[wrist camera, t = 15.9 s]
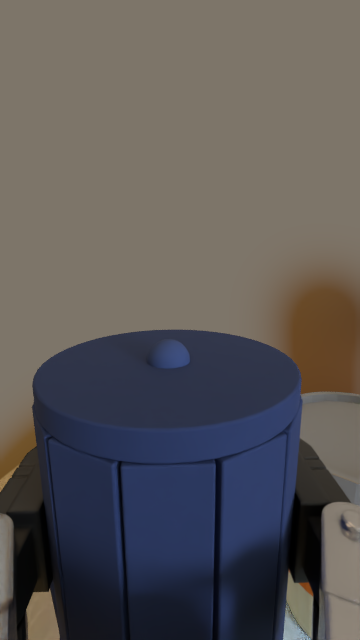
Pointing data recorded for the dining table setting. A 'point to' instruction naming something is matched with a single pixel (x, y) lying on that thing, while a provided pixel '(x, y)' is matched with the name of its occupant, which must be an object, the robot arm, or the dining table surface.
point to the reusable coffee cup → (328, 466)
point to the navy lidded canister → (169, 485)
